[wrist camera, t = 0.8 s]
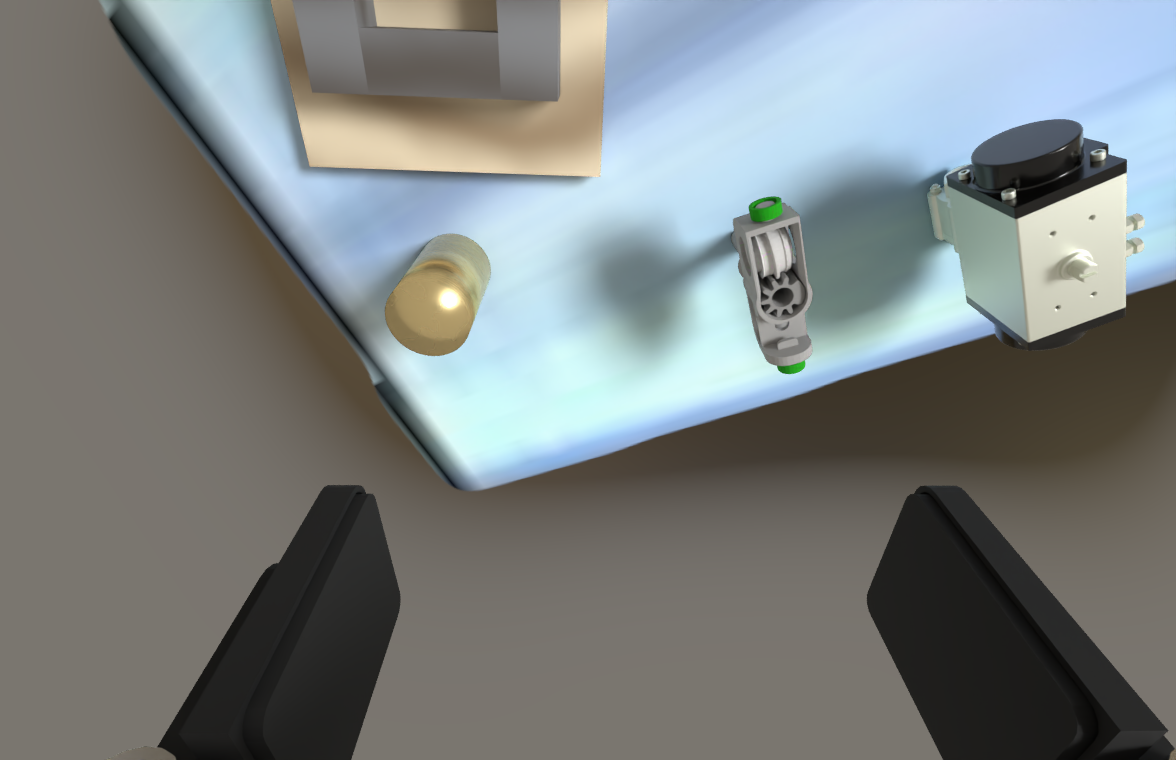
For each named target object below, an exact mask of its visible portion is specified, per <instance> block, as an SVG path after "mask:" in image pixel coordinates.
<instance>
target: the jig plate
mask: <svg viewBox="0 0 1176 760" xmlns="http://www.w3.org/2000/svg"><path fill="white" fill-rule="evenodd" d="M271 4H272V8H273V13H274V17H275V21H276V25H277V30H278V34H279V38H280V42H281V47H282V51H283V55H284V59H285V64H286V68H287V72H288V76H289V81H290V85H291V89H292V93H293V98H294V102H295V106H296V110H297V115H298V119H299V123H300V127H301V132H302V136H303V140H304V144H305V149H306V153H307V157H308V161H309V166H310V167H336V168H365V169H393V170H421V171H449V172H478V173H506V174H534V175H563V176H591V177H600V169H601V146H602V123H603V99H604V76H605V53H606V29H607V6H608V0H271Z"/></svg>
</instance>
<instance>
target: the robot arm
mask: <svg viewBox="0 0 1176 760" xmlns="http://www.w3.org/2000/svg"><path fill="white" fill-rule="evenodd" d="M867 605H868V609H869V612H870V614H871V617H872V618H873V620H874V623H875V625H876V627H877V629H878V631H879V633H880V634H881V637H882V639H883V640H884V643H885V645H886V647H887V649H888V651H889V653H890V654H891V656H892V659H893V661H894V663H895V664H896V667H897V669H898V670H899V672H900V674H901V676H902V679H903V680H904V682H905V685H906V686H907V688H908V691H909V692H910V695H911V697H912V698H913V700H914V703H915V705H916V706H917V708H918V710H919V713H920V715H921V717H922V718H923V720H924V722H925V724H926V726H927V728H928V730H929V732H930V734H931V736H932V738H933V740H934V742H935V744H936V746H937V748H938V750H939V752H940V754H941V756H942V758H943V760H1176V749H1175V748H1174V747H1173V746H1172V745H1171V744H1170V742H1169V741H1168V740H1167V739H1166V738H1165V737H1164V734H1165V733H1166V732H1167V731H1168V730H1167V729H1166V728H1165V726H1164V725H1163V724H1162V723H1161V722H1160V720H1158V718H1157V717H1156V716H1155V714H1154V713H1153V712H1152V711H1151V710H1150V709H1149V707H1148V706H1147V705H1146V704H1145V703H1144V702H1143V700H1142V699H1141V698H1140V697H1139V696H1138V695H1137V693H1136V692H1135V691H1134V690H1133V689H1132V687H1131V686H1130V685H1129V684H1128V683H1127V682H1126V680H1125V679H1124V678H1123V677H1122V676H1121V675H1120V673H1119V672H1118V671H1117V670H1116V669H1115V668H1114V666H1113V665H1112V664H1111V663H1110V661H1109V660H1108V659H1107V658H1106V657H1105V656H1104V654H1103V653H1102V652H1101V651H1100V650H1099V649H1098V647H1097V646H1096V645H1095V644H1094V643H1093V642H1092V640H1091V639H1090V638H1089V637H1088V636H1087V634H1086V633H1085V632H1084V631H1083V630H1082V629H1081V627H1080V626H1079V625H1078V624H1077V623H1076V621H1075V620H1074V619H1073V618H1072V617H1071V616H1070V615H1069V613H1068V612H1067V611H1066V610H1065V608H1064V607H1063V606H1062V605H1061V604H1060V603H1059V601H1058V600H1057V599H1056V598H1055V597H1054V596H1053V594H1052V593H1051V592H1050V591H1049V590H1048V588H1047V587H1046V586H1045V585H1044V584H1043V583H1042V581H1041V580H1040V579H1039V578H1038V577H1037V576H1036V575H1035V573H1034V572H1033V571H1032V570H1031V568H1030V567H1029V566H1028V565H1027V564H1026V563H1025V561H1024V560H1023V559H1022V558H1021V557H1020V555H1019V554H1018V553H1017V552H1016V551H1015V550H1014V548H1013V547H1012V546H1011V545H1010V544H1009V543H1008V541H1007V540H1006V539H1005V538H1004V537H1003V535H1002V534H1001V533H1000V532H999V531H998V530H997V528H996V527H995V526H994V525H993V524H992V522H991V521H990V520H989V519H988V518H987V517H986V516H985V514H984V513H983V512H982V511H981V510H980V508H979V507H978V506H977V505H976V504H975V502H974V501H973V500H972V499H971V498H970V497H969V495H968V494H967V493H966V492H965V491H964V490H963V489H962V488H960V487H958V486H920V487H919V488H918V489H917V490H916V491H915V493H914V494H910V495H909V496H908V497H907V499H906V500H905V503H904V505H903V508H902V510H901V513H900V515H899V518H898V520H897V522H896V525H895V527H894V529H893V532H892V534H891V537H890V539H889V542H888V544H887V547H886V549H885V551H884V554H883V556H882V559H881V561H880V564H879V566H878V568H877V571H876V573H875V576H874V578H873V581H872V583H871V586H870V588H869V591H868V594H867ZM399 609H400V591H399V587H398V583H397V579H396V576H395V572H394V568H393V564H392V560H391V556H390V553H389V549H388V545H387V541H386V537H385V533H384V530H383V526H382V522H381V518H380V514H379V510H378V507H377V503H376V499H375V497H374V495H373V494H366V492H365V490H364V488H363V487H362V486H359V485H328V486H326V487H324V488H323V489H322V491H321V492H320V494H319V495H318V498H317V499H316V501H315V502H314V504H313V506H312V507H311V509H310V511H309V513H308V514H307V516H306V518H305V519H304V521H303V523H302V525H301V526H300V528H299V530H298V531H297V533H296V535H295V537H294V538H293V540H292V542H291V543H290V545H289V547H288V548H287V550H286V552H285V554H284V555H283V557H282V559H281V560H280V562H279V563H276V564H273V565H271V566H270V567H269V568H267V569H266V570H265V572H264V573H263V574H262V576H261V577H260V578H259V580H258V582H257V583H256V585H255V587H254V588H253V590H252V592H251V593H250V595H249V597H248V598H247V600H246V601H245V603H244V605H243V606H242V608H241V610H240V612H239V613H238V615H237V617H236V618H235V620H234V621H233V623H232V625H231V626H230V628H229V630H228V631H227V633H226V634H225V636H224V638H223V639H222V641H221V643H220V644H219V646H218V648H217V650H216V651H215V653H214V654H213V656H212V658H211V659H210V661H209V663H208V664H207V666H206V667H205V669H204V671H203V673H202V674H201V676H200V677H199V679H198V681H197V682H196V684H195V686H194V687H193V689H192V691H191V692H190V694H189V696H188V697H187V699H186V700H185V702H184V704H183V706H182V707H181V709H180V710H179V712H178V714H177V715H176V717H175V719H174V720H173V722H172V724H171V725H170V727H169V729H168V730H167V732H166V734H165V735H164V737H163V738H162V740H161V742H160V743H159V745H158V747H147V746H144V747H140V748H135V749H131V750H126V751H124V752H121V753H119V754H117V755H115V756H113V757H111V758H108V759H106V760H351V758H352V755H353V752H354V749H355V746H356V743H357V740H358V737H359V734H360V731H361V728H362V725H363V721H364V718H365V715H366V712H367V709H368V706H369V703H370V700H371V697H372V693H373V690H374V687H375V684H376V681H377V678H378V675H379V672H380V669H381V666H382V663H383V660H384V657H385V654H386V650H387V648H388V645H389V641H390V638H391V635H392V632H393V629H394V626H395V623H396V620H397V617H398V613H399Z"/></svg>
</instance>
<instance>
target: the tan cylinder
mask: <svg viewBox="0 0 1176 760" xmlns="http://www.w3.org/2000/svg"><path fill="white" fill-rule="evenodd" d="M490 275H491V268H490V263H489V260H488V257H487V255H486V254H485V252H484V251H483V249H482V248H481V247H480V246H479V245H478V244H477V243H476V242H474V241H473V240H471V239H469V238H467V237H465V236H462V235H458V234H444V235H440V236H437V237H435V238H434V239H432V240H431V241H430V242H428V243H427V245H426V246H425V247H424V249H423V250H422V251H421V253H420V254H419V256H418V257H417V258H416V260H415V261H414V263H413V264H412V265H411V267H410V268H409V270H408V271H407V272H406V274H405V275H404V276H403V278H402V279H401V281H400V282H399V283H398V285H397V286H396V288H395V289H394V290H393V292H392V293H391V295H390V296H389V298H388V300H387V303H386V307H385V318H386V322H387V325H388V327H389V329H390V331H391V333H392V334H393V336H394V337H395V338H396V339H397V340H398V341H399V342H400V343H401V344H402V345H404V346H405V347H406V348H408V349H410V350H412V351H414V352H416V353H419V354H423V355H428V356H440V355H445V354H449V353H451V352H453V351H455V350H457V349H458V348H459V347H461V346H462V344H463V343H464V342H465V340H466V339H467V337H468V334H469V332H470V329H471V327H472V324H473V322H474V319H475V316H476V314H477V311H478V309H479V306H480V303H481V301H482V298H483V296H484V293H485V290H486V288H487V285H488V283H489V280H490Z"/></svg>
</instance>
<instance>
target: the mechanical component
mask: <svg viewBox="0 0 1176 760" xmlns="http://www.w3.org/2000/svg"><path fill="white" fill-rule="evenodd" d="M749 212H750V213H749V214H746V215H743V216H740V217H737V218H734V219H733V226H734V232H733V233H732V236H731V241H732V244H733V245H734V247H735V249H736V250H737V252H738V253H739V258H740V259H739V263H738V268H739V272H740V274H741V276H742V277H743V283H744V287H745V289H746V293H747V298H748V303H749V308H750V313H751V318H752V323H753V327H754V331H755V335H756V338H757V341H758V344H759V346H760V348H761V350H762V352H763V354H764V356H765V358H766V360H767V361H768V362H769V363H771V364H773V365H777V367H778V370H779V371H780V372H782V373H785V374H794V373H798V372H800V371H801V370H803V369H804V367H805V360H806V359H807V358H809V357H810V355H811V354H812V344H811V339H810V338H809V336H808V335H807V328H806V321H805V312H806V311H807V309H808V308H809V306H810V304H811V301H812V296H813V292H812V288H811V285H810V284H809V282H808V276H807V268H806V261H805V253H804V246H803V238H802V230H801V223H800V216H799V215H798V214H797V213H796V212H795V211H794V210H793V209H792V208H791V207H790V206H787V205H786V204H785V203H781V198H779V197H766V198H762V199H759V200H756V201H754V202H752V203H751V204H750V205H749ZM788 227H789V229H790V231H791V234H792V237H793V240H794V244H795V249H796V257H795V255H794V253H793V249H792V244H791V240H790V237H789V233H788Z"/></svg>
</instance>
